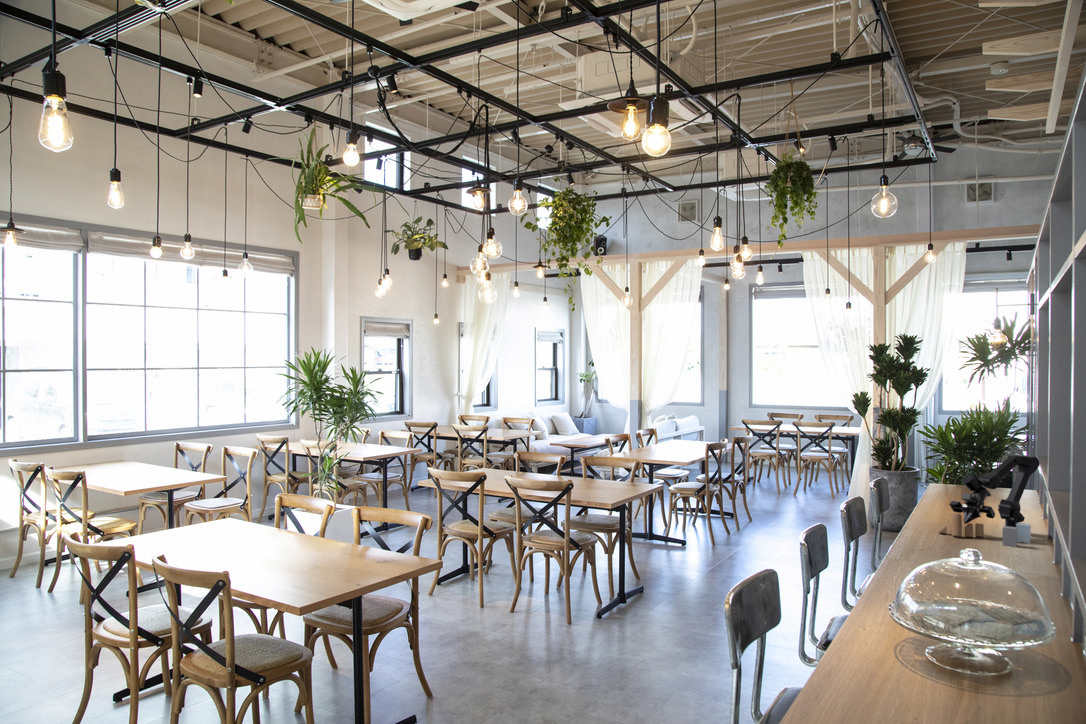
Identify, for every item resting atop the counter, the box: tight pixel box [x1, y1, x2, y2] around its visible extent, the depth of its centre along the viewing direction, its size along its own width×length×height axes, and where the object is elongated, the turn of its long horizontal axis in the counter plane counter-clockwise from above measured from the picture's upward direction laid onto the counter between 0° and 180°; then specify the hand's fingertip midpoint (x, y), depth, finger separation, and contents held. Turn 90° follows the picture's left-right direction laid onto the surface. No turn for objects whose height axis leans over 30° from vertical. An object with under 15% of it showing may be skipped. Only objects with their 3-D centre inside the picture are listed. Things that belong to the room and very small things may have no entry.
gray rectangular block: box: [1002, 525, 1018, 548], centre depth 321 cm, size 5×5×8 cm
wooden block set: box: [938, 513, 985, 539], centre depth 339 cm, size 18×9×10 cm, turn 67°
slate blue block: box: [1016, 522, 1032, 544], centre depth 329 cm, size 5×5×8 cm
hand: (965, 523), depth 336 cm, fingers closed
